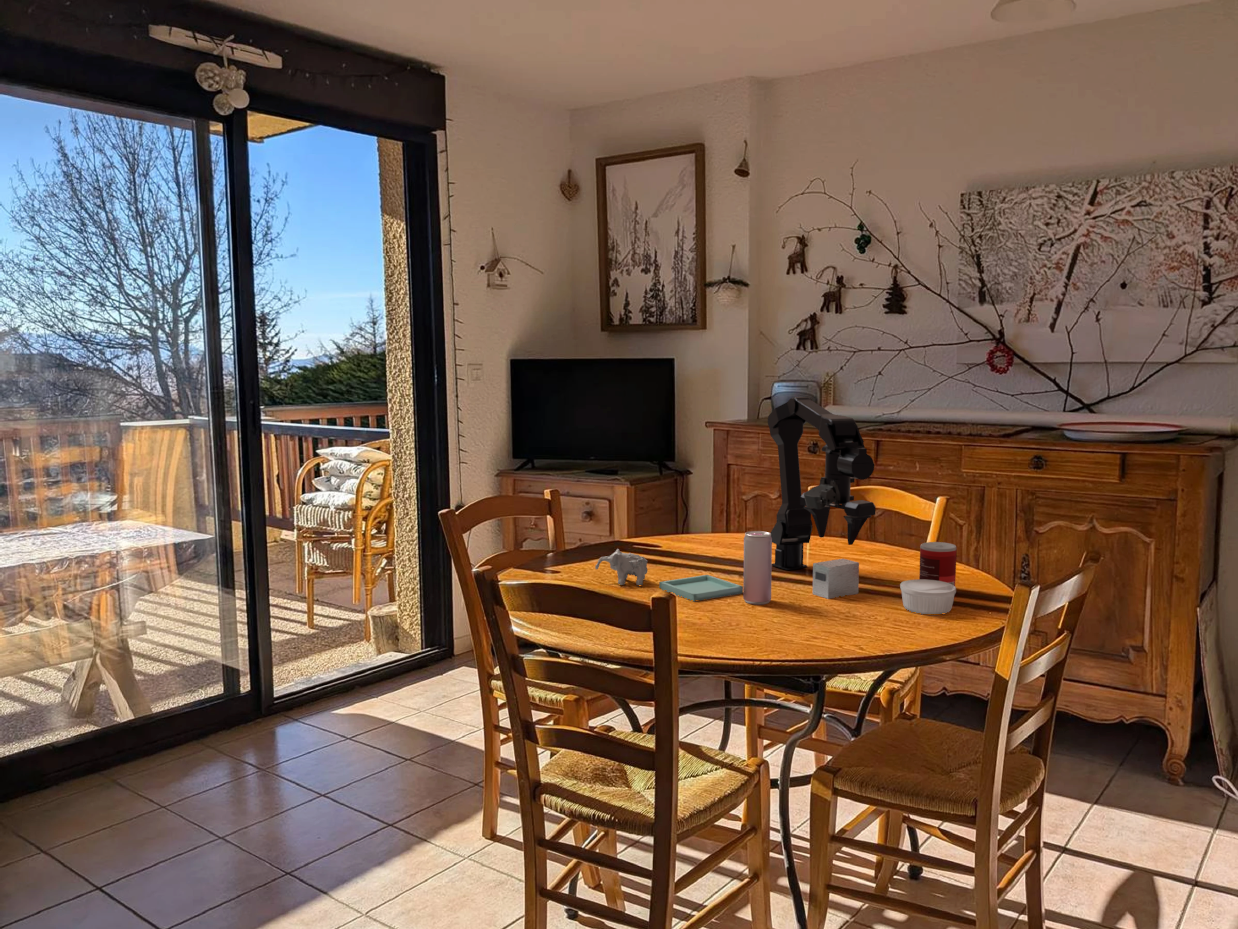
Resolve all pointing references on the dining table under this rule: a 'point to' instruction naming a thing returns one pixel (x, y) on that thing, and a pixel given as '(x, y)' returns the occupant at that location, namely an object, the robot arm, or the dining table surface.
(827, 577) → the block
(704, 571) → the dining table surface
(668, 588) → the tray
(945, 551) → the canned food
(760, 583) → the beverage can
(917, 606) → the ramekin
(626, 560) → the gray elephant figurine
